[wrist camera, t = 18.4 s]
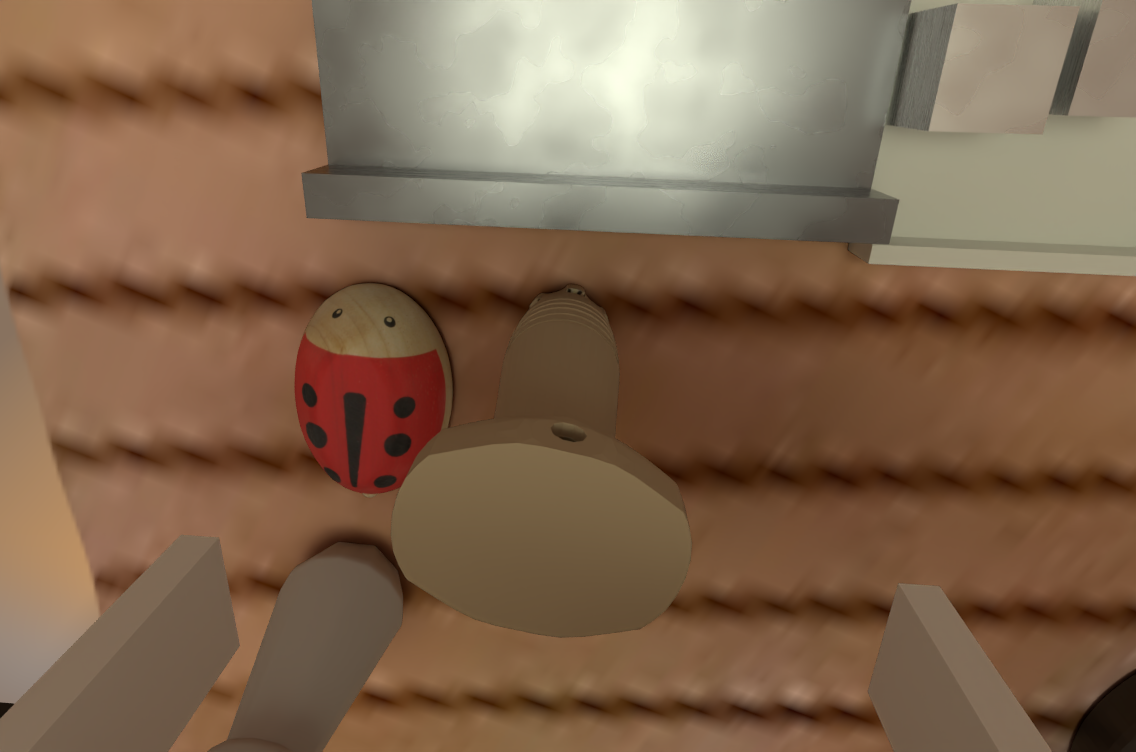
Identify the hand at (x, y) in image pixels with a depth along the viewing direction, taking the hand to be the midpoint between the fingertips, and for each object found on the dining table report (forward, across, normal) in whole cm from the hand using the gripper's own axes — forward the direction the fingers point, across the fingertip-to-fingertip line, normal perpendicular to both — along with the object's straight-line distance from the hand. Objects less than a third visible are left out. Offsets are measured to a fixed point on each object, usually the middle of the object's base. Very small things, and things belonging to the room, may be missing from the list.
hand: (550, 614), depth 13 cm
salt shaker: (+17, +11, +13) cm, 24 cm away
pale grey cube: (+16, -16, -11) cm, 26 cm away
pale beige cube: (+16, -12, -11) cm, 23 cm away
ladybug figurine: (+17, +9, +3) cm, 19 cm away
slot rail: (+16, 0, -11) cm, 19 cm away
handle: (+17, +1, -1) cm, 17 cm away
